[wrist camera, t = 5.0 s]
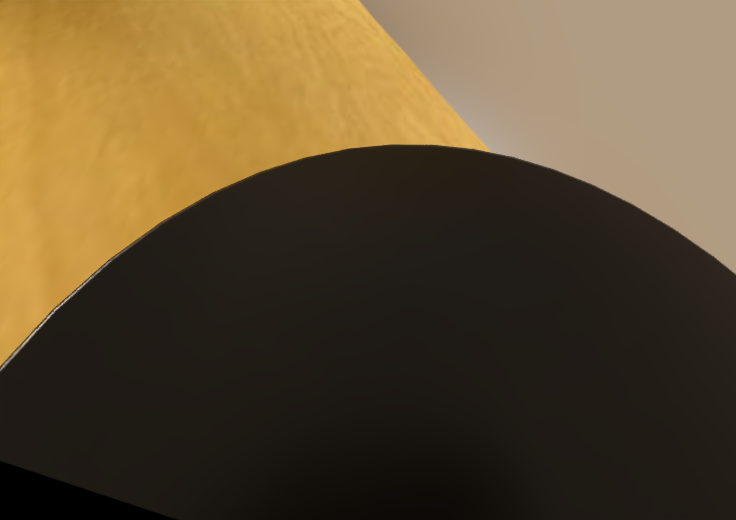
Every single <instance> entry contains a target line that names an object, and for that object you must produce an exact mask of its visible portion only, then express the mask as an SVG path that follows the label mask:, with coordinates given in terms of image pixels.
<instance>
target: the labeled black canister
mask: <svg viewBox="0 0 736 520" xmlns="http://www.w3.org/2000/svg"><path fill="white" fill-rule="evenodd" d="M0 520H736V274H735V273H733V272H732V271H731V270H729V269H728V268H727V267H726V266H725V265H723V264H722V263H721V262H720V261H719V260H717V259H716V258H715V257H714V256H712V255H711V254H709V253H708V252H706V251H705V250H703V249H702V248H700V247H699V246H698V245H696V244H694V243H693V242H692V241H691V240H689V239H688V238H686V237H685V236H683V235H682V234H681V233H679V232H678V231H676V230H675V229H673V228H672V227H670V226H668V225H667V224H665V223H663V222H662V221H660V220H658V219H656V218H655V217H653V216H651V215H650V214H648V213H646V212H644V211H643V210H641V209H640V208H638V207H636V206H635V205H633V204H631V203H629V202H627V201H625V200H623V199H621V198H619V197H617V196H615V195H612V194H610V193H609V192H606V191H604V190H603V189H600V188H598V187H596V186H594V185H592V184H590V183H587V182H585V181H582V180H580V179H577V178H575V177H572V176H569V175H567V174H564V173H562V172H559V171H557V170H554V169H551V168H548V167H544V166H541V165H538V164H534V163H531V162H528V161H524V160H521V159H518V158H514V157H510V156H505V155H500V154H495V153H490V152H485V151H480V150H475V149H467V148H458V147H448V146H439V145H382V146H372V147H362V148H351V149H345V150H340V151H335V152H330V153H325V154H321V155H316V156H311V157H306V158H302V159H299V160H296V161H293V162H290V163H287V164H284V165H280V166H277V167H274V168H271V169H268V170H265V171H261V172H259V173H256V174H254V175H252V176H250V177H247V178H245V179H243V180H240V181H238V182H236V183H234V184H231V185H229V186H227V187H224V188H222V189H220V190H218V191H215V192H213V193H211V194H209V195H208V196H206V197H204V198H202V199H201V200H199V201H197V202H195V203H194V204H192V205H190V206H188V207H187V208H185V209H183V210H181V211H180V212H178V213H176V214H174V215H173V216H171V217H169V218H167V219H166V220H164V221H162V222H161V223H159V224H158V225H157V226H155V227H154V228H152V229H151V230H150V231H148V232H147V233H145V234H144V235H143V236H141V237H140V238H138V239H137V240H136V241H134V242H133V243H132V244H130V245H129V246H127V247H126V248H125V249H123V250H122V251H120V252H119V253H118V254H116V255H115V256H113V257H112V258H111V259H109V260H108V261H107V262H106V263H105V264H104V265H102V266H101V267H100V268H99V269H98V270H97V271H96V272H95V273H93V274H92V275H91V276H90V277H89V278H88V279H87V280H86V281H84V282H83V283H82V284H81V285H80V286H79V287H78V288H77V289H75V290H74V291H73V292H72V293H71V294H70V295H69V296H68V297H66V298H65V299H64V300H63V301H62V302H61V303H60V304H59V305H57V306H56V307H55V308H54V309H53V310H52V311H51V312H50V313H49V314H48V315H47V316H46V318H45V319H44V320H43V321H42V322H41V323H40V324H39V325H38V326H37V327H36V328H35V329H34V330H33V332H32V333H31V334H30V335H29V336H28V337H27V338H26V339H25V340H24V341H23V342H22V343H21V345H20V346H19V347H18V348H17V349H16V350H15V351H14V352H13V353H12V354H11V355H10V356H9V358H8V359H7V360H6V361H5V362H4V363H3V364H2V365H1V366H0Z"/></svg>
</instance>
